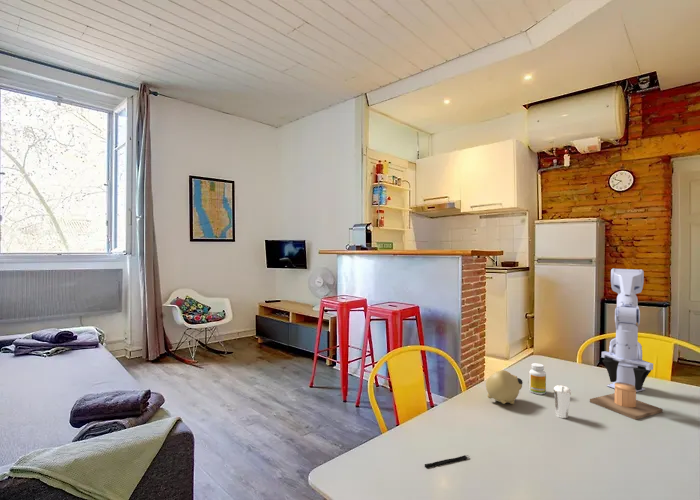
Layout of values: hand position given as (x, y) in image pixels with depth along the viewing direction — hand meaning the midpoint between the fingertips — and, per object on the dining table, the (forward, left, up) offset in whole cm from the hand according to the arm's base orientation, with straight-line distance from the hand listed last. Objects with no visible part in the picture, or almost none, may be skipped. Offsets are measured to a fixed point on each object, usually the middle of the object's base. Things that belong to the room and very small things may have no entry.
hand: (625, 385), depth 123 cm
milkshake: (+26, -3, -7) cm, 27 cm away
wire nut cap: (0, 0, -6) cm, 6 cm away
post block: (0, 0, -7) cm, 7 cm away
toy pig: (+34, -18, -7) cm, 39 cm away
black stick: (+74, +3, -8) cm, 75 cm away
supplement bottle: (+16, -20, -7) cm, 27 cm away
